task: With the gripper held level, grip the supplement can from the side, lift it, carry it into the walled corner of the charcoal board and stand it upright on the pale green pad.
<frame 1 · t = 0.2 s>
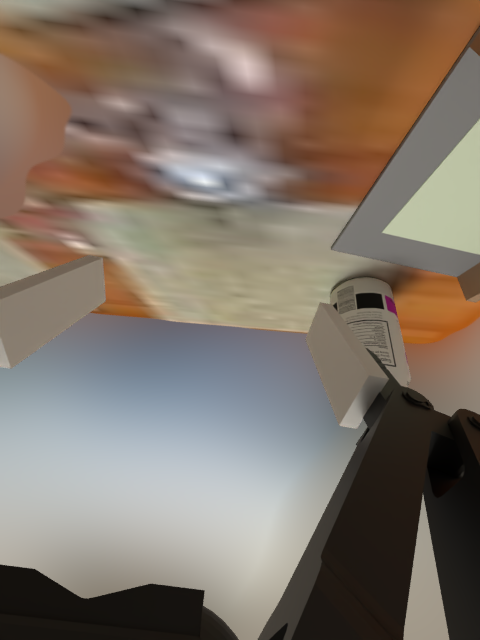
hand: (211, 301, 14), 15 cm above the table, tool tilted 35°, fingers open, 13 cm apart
supplement can: (358, 290, 36), on the table
corner arena: (471, 196, 22), on the table
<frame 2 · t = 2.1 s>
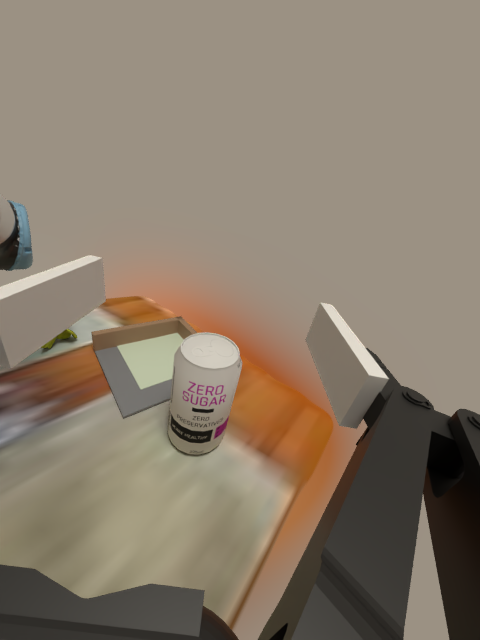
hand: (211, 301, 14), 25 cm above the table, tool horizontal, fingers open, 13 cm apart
supplement can: (196, 431, 35), on the table
corner arena: (158, 363, 45), on the table
bird rattle: (50, 340, 45), on the table
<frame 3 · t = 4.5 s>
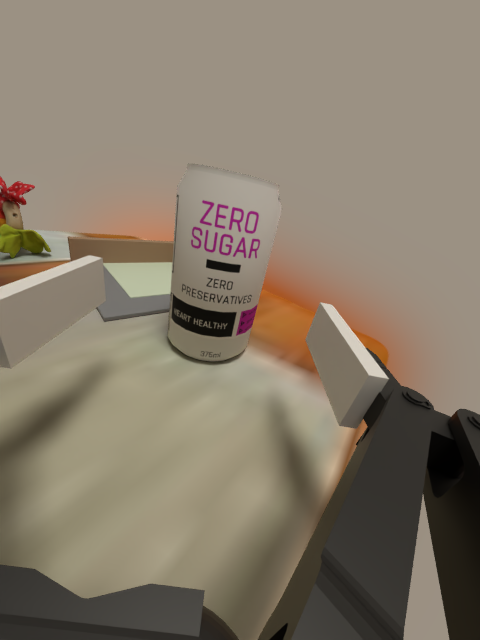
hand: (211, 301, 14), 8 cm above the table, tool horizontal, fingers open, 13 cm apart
supplement can: (207, 341, 25), on the table
corner arena: (155, 282, 35), on the table
bird rattle: (15, 253, 35), on the table
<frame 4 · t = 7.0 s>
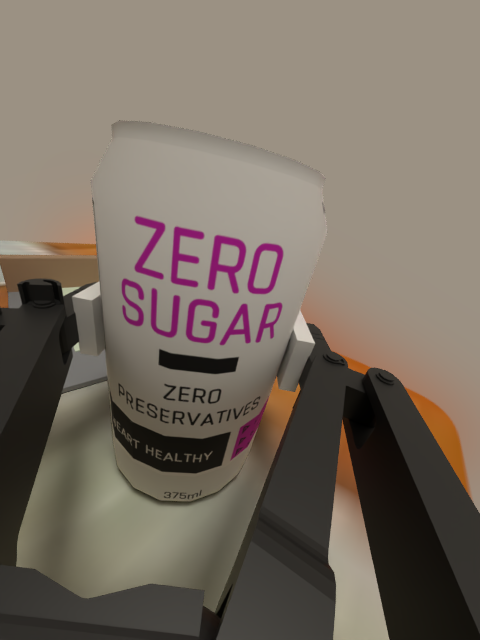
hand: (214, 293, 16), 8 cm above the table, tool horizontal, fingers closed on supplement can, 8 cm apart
supplement can: (185, 435, 15), on the table, touching gripper
corner arena: (123, 316, 26), on the table
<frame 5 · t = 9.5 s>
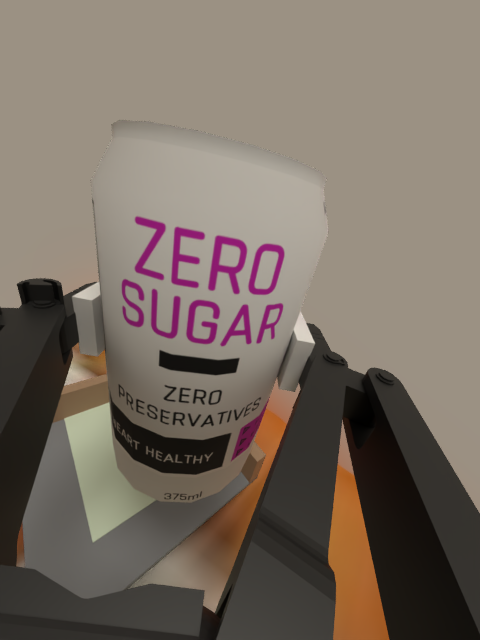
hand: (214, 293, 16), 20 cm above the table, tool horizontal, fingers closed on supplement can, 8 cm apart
supplement can: (186, 436, 15), point 11 cm above the table, touching gripper
corner arena: (138, 453, 25), on the table
when the fingers open (10 cm above the table, at t = 12.4 s): supplement can drops 1 cm, resting on corner arena.
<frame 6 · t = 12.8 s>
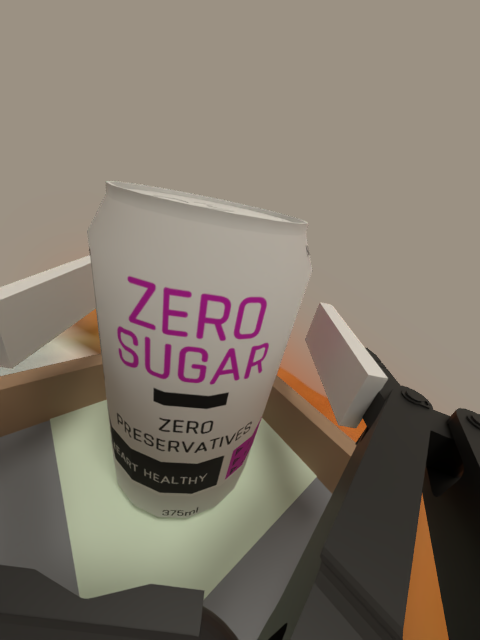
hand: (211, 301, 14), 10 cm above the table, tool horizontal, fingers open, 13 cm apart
supplement can: (184, 450, 16), resting on corner arena
corner arena: (174, 480, 14), on the table
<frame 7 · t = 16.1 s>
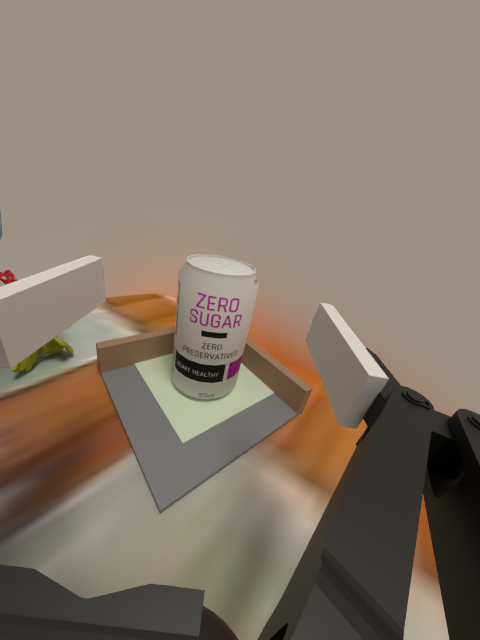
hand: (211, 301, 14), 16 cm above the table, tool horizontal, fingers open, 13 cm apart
supplement can: (204, 379, 30), resting on corner arena
corner arena: (200, 391, 29), on the table
bird rattle: (30, 357, 29), on the table
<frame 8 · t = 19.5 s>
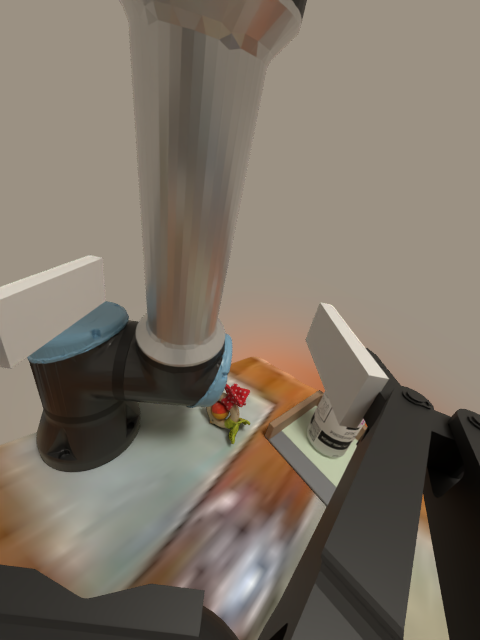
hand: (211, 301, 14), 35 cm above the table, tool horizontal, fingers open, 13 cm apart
supplement can: (324, 440, 49), resting on corner arena
corner arena: (326, 449, 47), on the table
bird rattle: (222, 428, 47), on the table
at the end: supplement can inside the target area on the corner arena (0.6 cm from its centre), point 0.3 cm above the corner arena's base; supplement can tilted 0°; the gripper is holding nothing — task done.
